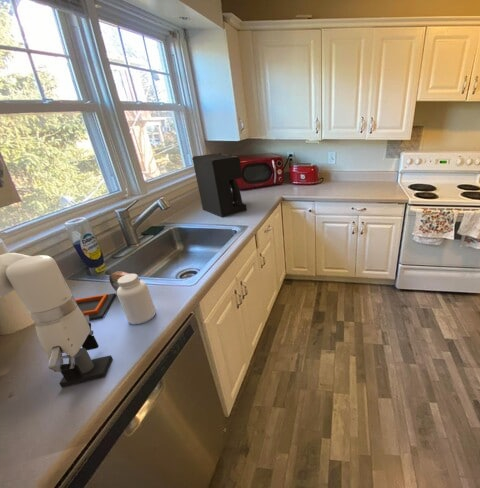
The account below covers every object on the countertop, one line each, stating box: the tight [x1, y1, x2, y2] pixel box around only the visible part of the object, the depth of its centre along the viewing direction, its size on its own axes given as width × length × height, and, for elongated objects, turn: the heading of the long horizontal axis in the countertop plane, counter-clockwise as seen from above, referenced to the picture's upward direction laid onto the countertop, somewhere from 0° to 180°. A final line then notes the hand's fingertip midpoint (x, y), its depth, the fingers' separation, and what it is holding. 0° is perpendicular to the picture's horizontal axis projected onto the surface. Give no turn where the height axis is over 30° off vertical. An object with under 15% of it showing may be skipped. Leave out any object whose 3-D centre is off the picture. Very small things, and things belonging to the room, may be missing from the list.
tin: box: [108, 270, 141, 292], centre depth 101 cm, size 15×3×8 cm, turn 67°
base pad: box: [74, 292, 117, 321], centre depth 94 cm, size 16×13×2 cm
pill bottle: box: [116, 273, 157, 325], centre depth 88 cm, size 8×8×15 cm
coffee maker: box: [191, 153, 248, 218], centre depth 180 cm, size 28×20×35 cm
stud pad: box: [58, 347, 113, 388], centre depth 70 cm, size 9×6×7 cm, turn 109°
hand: (84, 362), depth 70 cm, fingers open, 9 cm apart
